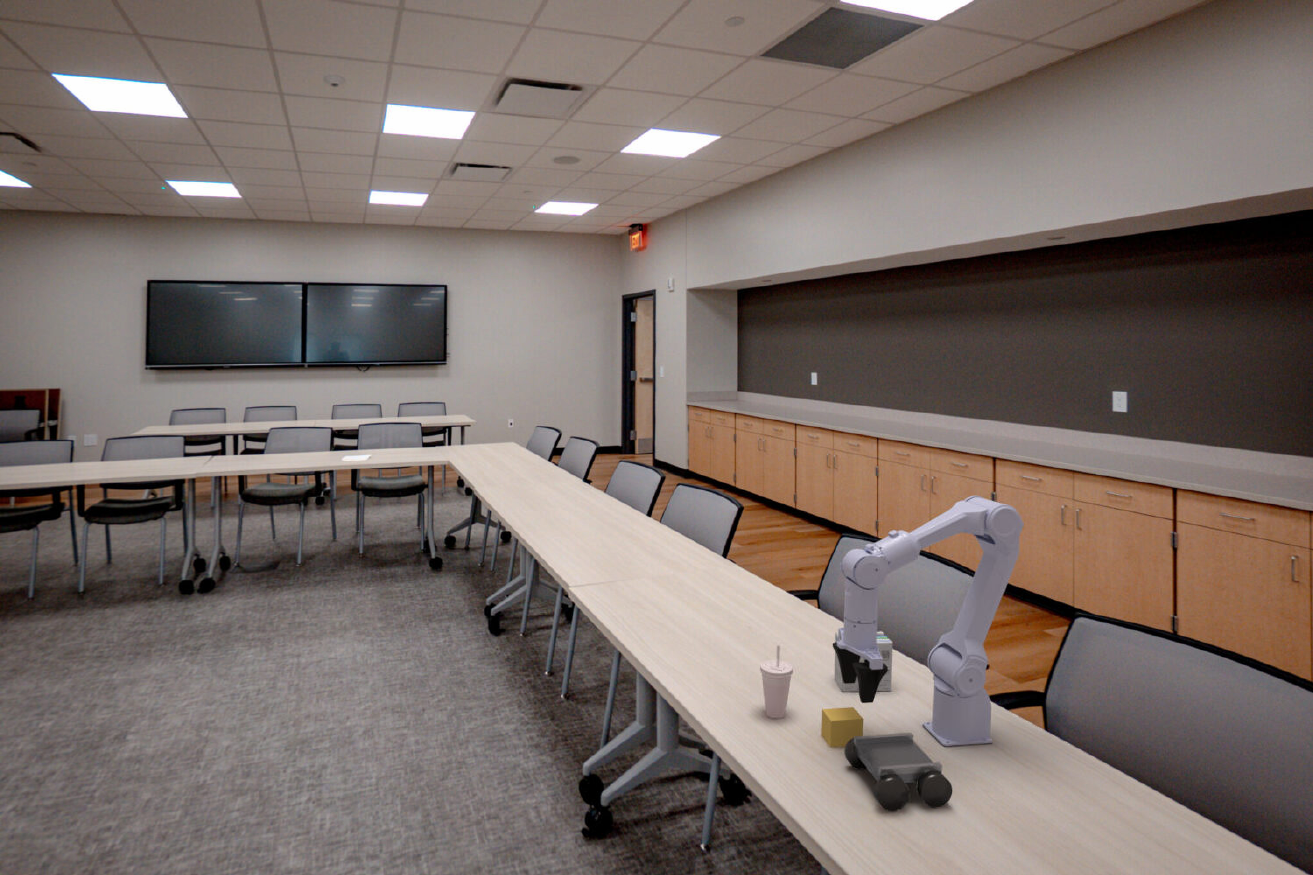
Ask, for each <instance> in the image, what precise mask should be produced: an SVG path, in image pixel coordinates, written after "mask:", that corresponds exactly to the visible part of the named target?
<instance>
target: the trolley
mask: <svg viewBox="0 0 1313 875" xmlns="http://www.w3.org/2000/svg"><path fill="white" fill-rule="evenodd" d="M843 751H844V752H843V754H844V757H845V759H846V761H847V762H848V763H849V765H850V766H851V767H852V768H854V769H855V770H866V769H867V770H868V771H869V773H870V774H871V775H872V776H873V777H874V779H875V781H876V782H875V784H874V788H873V795H874V798H875V800H876V802H877V803H878V804H879V805H880V807H881V808H882V809H883V810H885V811H888V812H897V811H899V810H901V809H903V808H904V807H905V806H906V805H907V803H908V802H909V799H910V790H909V787H908V785H907V784H910V783H916V792H917V795H918V797H919V798H920V799H921V800H922V801H923V803H924V804H925V805H926V806H927V807H930V808H934V809H935V808H936V809H937V808H941V807H943V806H945V805H946V804H947V803H948V802H949V801H950V799H951V798H952V796H953V785H952V783H951V782H950V780H948V778H947V777H946V776H945V775H944V774H943V773H942V769H943V765H942V763H941V762H940V761H938V762H937V761H935V762H934V761H933V760H932V759H931V758H930V757H929V756H928V755H927V754H926V753H925V751H923V750H922V749H921V748H920V746H919V745H918V744H917V743H916V742H915V741H914V734H913V733H912V732H901V733H887V734H873V735H872V734H871V735H863V736H855V737H854V738H852V739H851V740H849V741H848V743H847V744H846V746H844V750H843Z"/></svg>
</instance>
